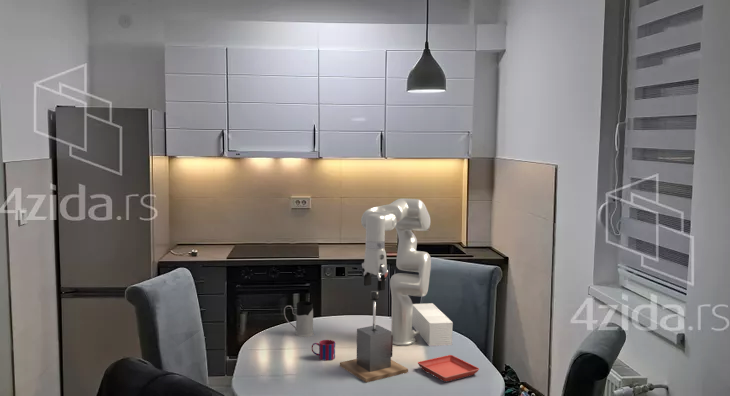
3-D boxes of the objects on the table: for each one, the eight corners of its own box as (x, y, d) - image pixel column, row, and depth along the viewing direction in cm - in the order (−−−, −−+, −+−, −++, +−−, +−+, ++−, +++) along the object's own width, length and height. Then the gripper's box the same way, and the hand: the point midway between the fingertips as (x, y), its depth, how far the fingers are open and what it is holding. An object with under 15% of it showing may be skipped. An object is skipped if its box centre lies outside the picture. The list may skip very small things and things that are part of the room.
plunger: (376, 338, 258) (377, 288, 256) (387, 344, 251) (388, 292, 249) (360, 341, 253) (360, 290, 251) (371, 347, 247) (371, 295, 245)
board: (380, 357, 267) (380, 353, 267) (408, 372, 250) (408, 368, 250) (339, 366, 256) (339, 362, 256) (366, 382, 240) (366, 378, 239)
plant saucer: (480, 376, 248) (480, 368, 248) (444, 385, 239) (445, 377, 239) (450, 362, 264) (451, 354, 263) (416, 370, 254) (416, 362, 254)
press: (383, 358, 262) (384, 323, 260) (397, 365, 254) (398, 330, 252) (356, 364, 255) (356, 328, 253) (369, 372, 246) (370, 335, 245)
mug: (333, 361, 262) (333, 345, 261) (310, 359, 263) (310, 343, 263) (336, 355, 268) (336, 340, 268) (313, 354, 270) (313, 338, 269)
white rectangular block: (452, 345, 284) (452, 322, 283) (429, 346, 282) (429, 323, 281) (432, 324, 315) (432, 303, 314) (411, 325, 313) (412, 304, 312)
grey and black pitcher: (312, 337, 292) (313, 306, 290) (282, 336, 292) (282, 305, 290) (314, 331, 300) (314, 301, 299) (285, 331, 301) (285, 300, 299)
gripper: (395, 247, 243) (394, 291, 244) (371, 241, 257) (370, 282, 259) (379, 249, 239) (378, 293, 240) (355, 242, 253) (354, 284, 255)
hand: (374, 287), depth 249 cm, fingers open, 9 cm apart
